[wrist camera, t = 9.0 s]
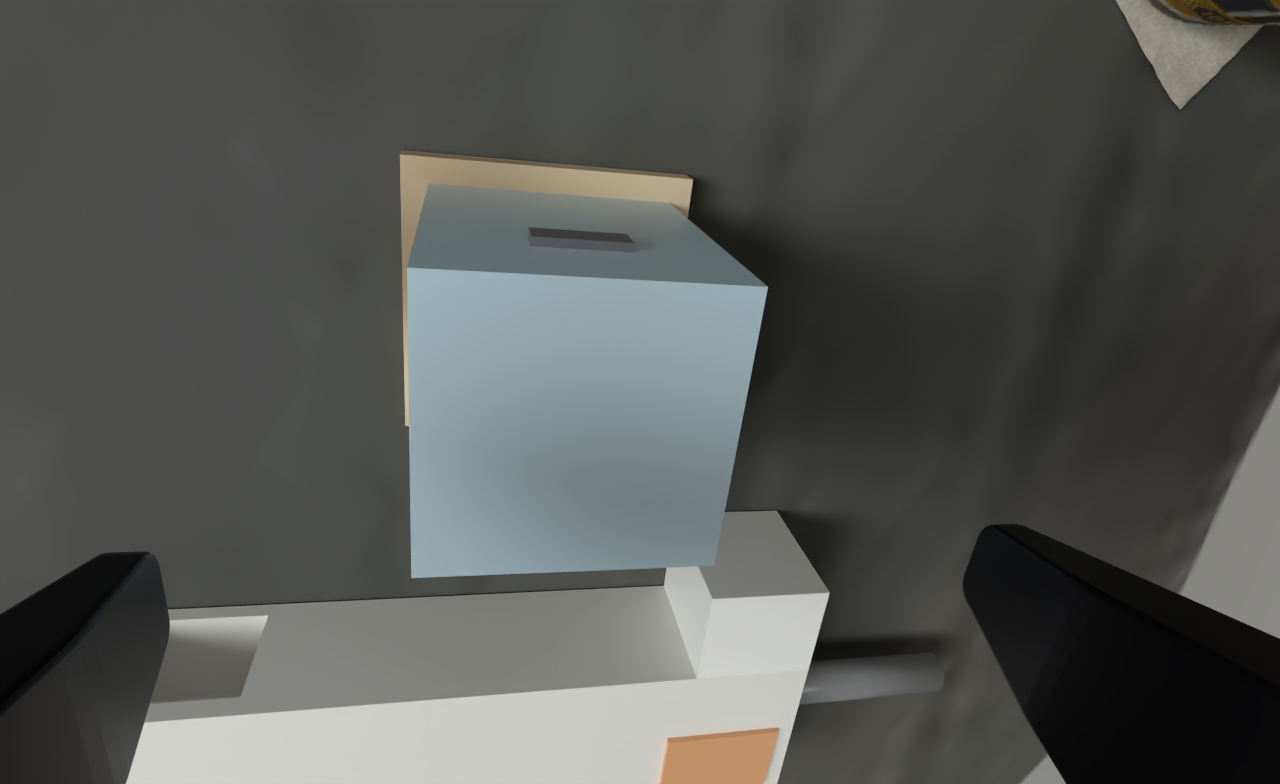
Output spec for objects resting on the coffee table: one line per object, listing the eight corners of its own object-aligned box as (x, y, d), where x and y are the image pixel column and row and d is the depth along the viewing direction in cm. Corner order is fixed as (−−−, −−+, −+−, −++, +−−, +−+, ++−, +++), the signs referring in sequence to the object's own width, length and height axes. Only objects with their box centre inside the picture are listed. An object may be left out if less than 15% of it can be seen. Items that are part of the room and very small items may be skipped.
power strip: (889, 709, 26) (949, 805, 23) (67, 788, 20) (-8, 932, 17) (960, 506, 22) (1042, 585, 19) (-11, 530, 17) (-124, 649, 13)
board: (653, 415, 19) (658, 427, 18) (407, 414, 18) (405, 426, 17) (686, 174, 16) (693, 179, 16) (402, 150, 15) (400, 154, 15)
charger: (631, 486, 19) (695, 661, 14) (428, 489, 18) (413, 682, 13) (669, 195, 16) (770, 276, 11) (428, 175, 15) (406, 256, 10)
